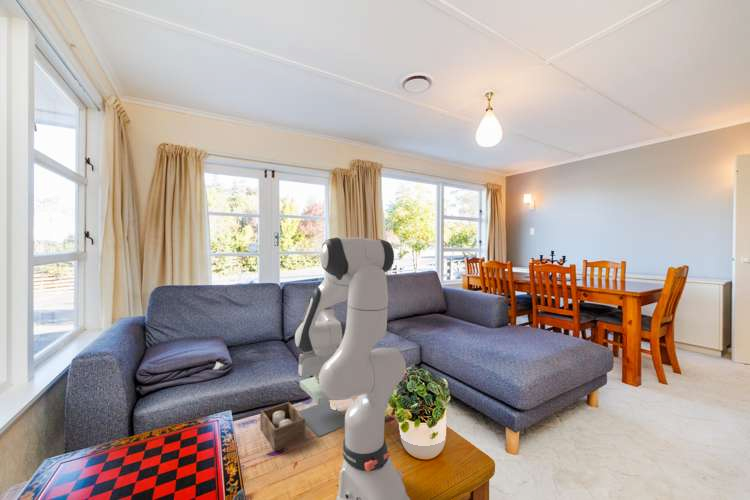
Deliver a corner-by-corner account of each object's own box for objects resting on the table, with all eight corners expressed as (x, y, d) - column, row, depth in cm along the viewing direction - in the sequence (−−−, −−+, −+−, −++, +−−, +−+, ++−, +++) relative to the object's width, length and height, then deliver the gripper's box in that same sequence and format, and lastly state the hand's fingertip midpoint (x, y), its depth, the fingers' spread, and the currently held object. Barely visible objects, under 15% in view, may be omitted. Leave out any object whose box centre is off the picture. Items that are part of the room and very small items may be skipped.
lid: (348, 393, 117) (348, 379, 117) (318, 404, 109) (318, 388, 109) (327, 377, 130) (327, 364, 130) (299, 386, 123) (299, 372, 122)
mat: (353, 422, 116) (353, 421, 116) (318, 437, 107) (318, 436, 107) (328, 401, 132) (328, 400, 132) (295, 412, 123) (295, 412, 123)
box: (305, 438, 107) (304, 418, 106) (274, 451, 100) (274, 430, 100) (288, 419, 118) (288, 401, 118) (260, 429, 112) (260, 411, 112)
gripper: (302, 356, 110) (302, 392, 111) (349, 344, 123) (348, 377, 123) (295, 351, 115) (295, 386, 116) (341, 340, 128) (340, 372, 128)
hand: (323, 381), depth 120 cm, fingers closed on lid, 3 cm apart
